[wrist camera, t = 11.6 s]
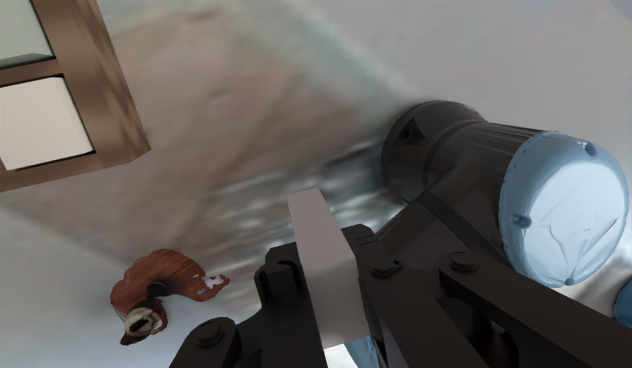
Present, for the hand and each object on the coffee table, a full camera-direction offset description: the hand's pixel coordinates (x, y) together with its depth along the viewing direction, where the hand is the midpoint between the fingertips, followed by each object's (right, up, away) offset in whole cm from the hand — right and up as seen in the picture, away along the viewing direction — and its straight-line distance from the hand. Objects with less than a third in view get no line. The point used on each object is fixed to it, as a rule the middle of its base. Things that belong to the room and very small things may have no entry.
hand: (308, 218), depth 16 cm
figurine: (-20, -13, +31) cm, 40 cm away
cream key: (-27, +8, +20) cm, 34 cm away
